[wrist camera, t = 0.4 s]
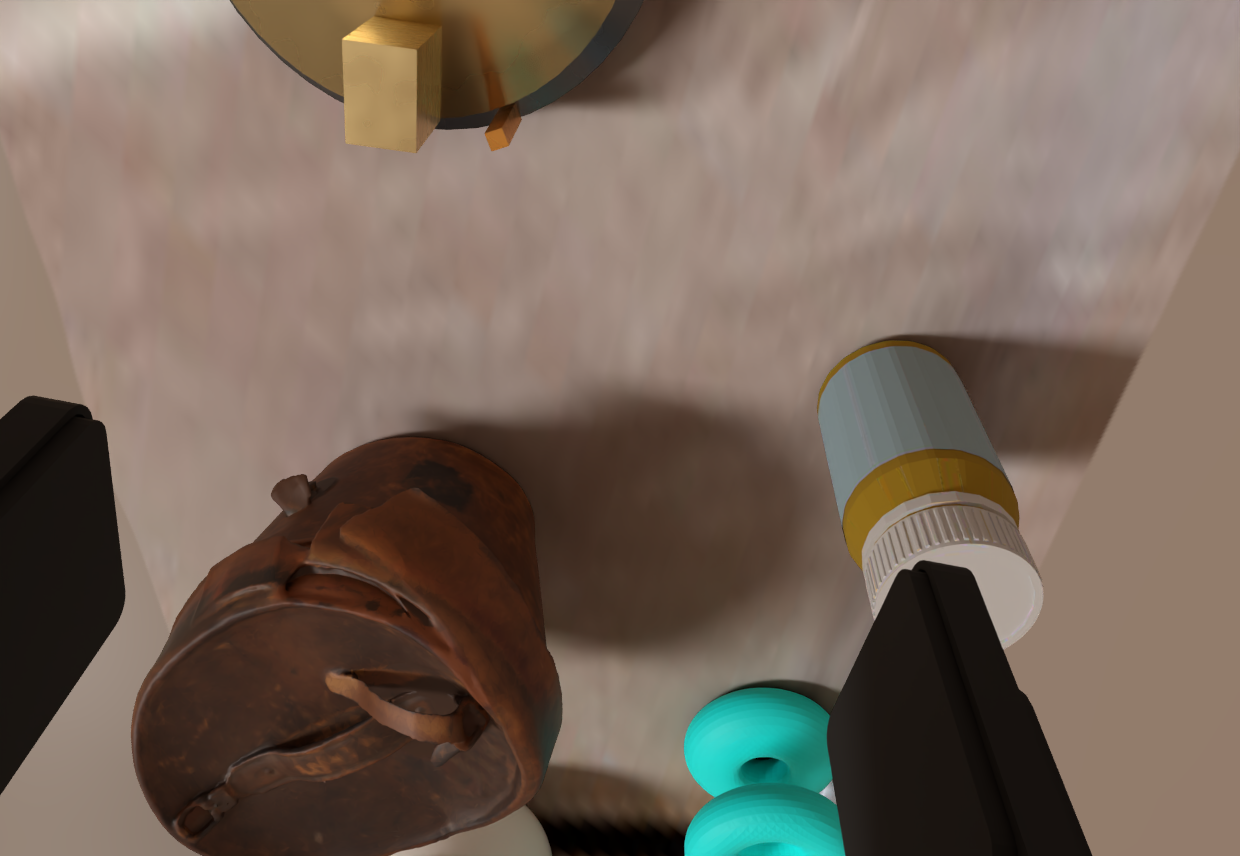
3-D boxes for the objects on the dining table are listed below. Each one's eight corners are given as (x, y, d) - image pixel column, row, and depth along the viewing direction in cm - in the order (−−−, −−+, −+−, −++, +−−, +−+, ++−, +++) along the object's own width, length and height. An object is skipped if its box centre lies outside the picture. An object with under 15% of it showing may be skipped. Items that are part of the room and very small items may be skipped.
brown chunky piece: (653, 460, 51) (633, 735, 36) (504, 682, 61) (440, 967, 46) (336, 311, 47) (166, 547, 32) (234, 573, 58) (70, 844, 43)
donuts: (762, 796, 50) (901, 868, 53) (750, 654, 59) (871, 722, 61) (649, 880, 55) (782, 942, 58) (653, 737, 63) (769, 797, 66)
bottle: (988, 384, 47) (1098, 595, 35) (886, 474, 51) (954, 696, 38) (885, 307, 45) (963, 501, 33) (786, 406, 49) (823, 616, 36)
